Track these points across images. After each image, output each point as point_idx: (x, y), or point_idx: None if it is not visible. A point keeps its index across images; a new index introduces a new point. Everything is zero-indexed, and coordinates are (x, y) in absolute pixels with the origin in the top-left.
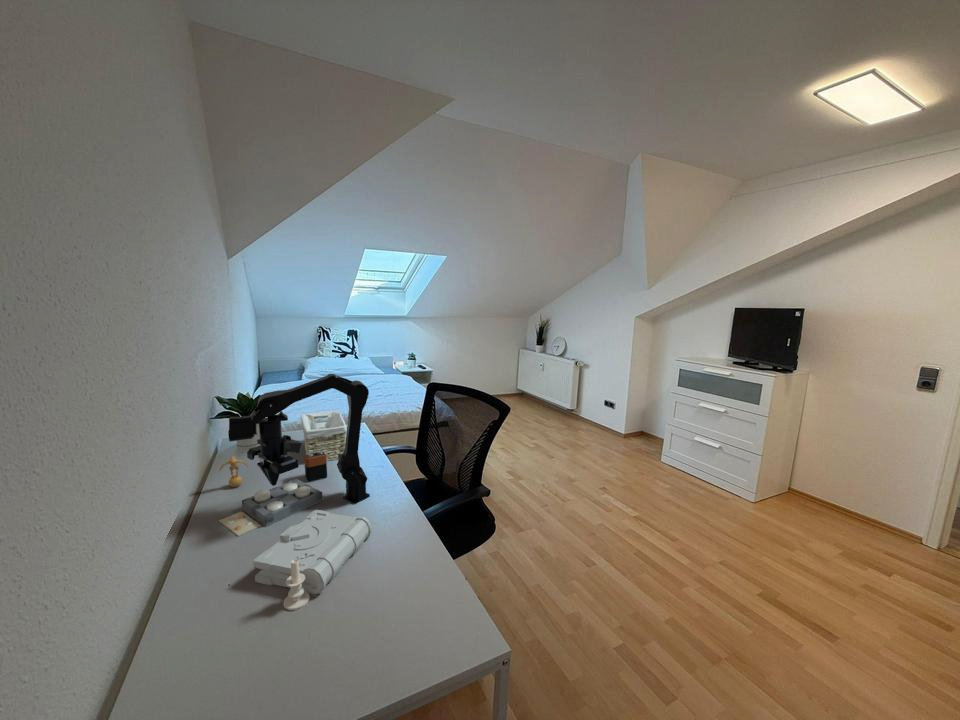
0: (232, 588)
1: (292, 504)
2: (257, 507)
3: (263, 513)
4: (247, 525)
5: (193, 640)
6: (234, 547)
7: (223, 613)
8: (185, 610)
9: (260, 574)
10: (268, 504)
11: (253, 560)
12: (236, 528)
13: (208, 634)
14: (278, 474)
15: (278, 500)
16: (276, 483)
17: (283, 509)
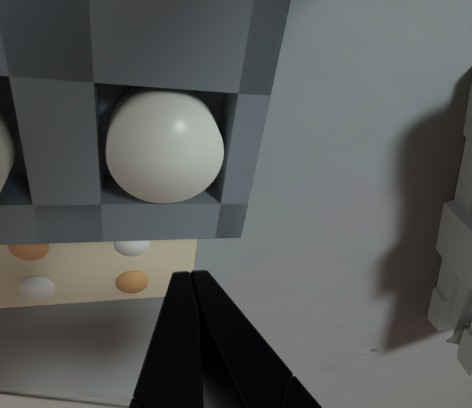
0: (390, 348)
1: (264, 63)
2: (81, 225)
3: (191, 231)
4: (143, 252)
5: (418, 395)
6: (244, 313)
7: (425, 367)
8: (348, 399)
9: (450, 324)
10: (119, 179)
11: (470, 377)
12: (129, 287)
13: (433, 384)
14: (301, 398)
15: (94, 85)
16: (213, 279)
17: (259, 140)
